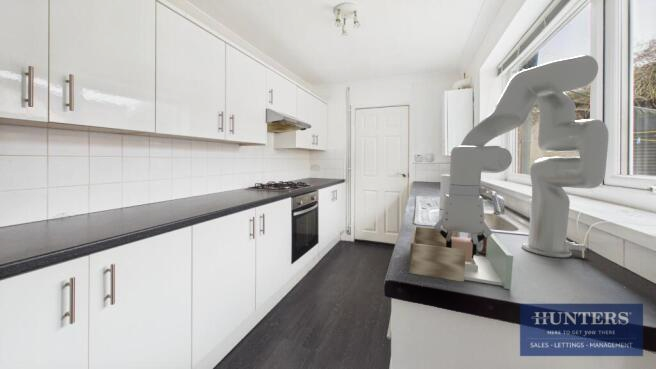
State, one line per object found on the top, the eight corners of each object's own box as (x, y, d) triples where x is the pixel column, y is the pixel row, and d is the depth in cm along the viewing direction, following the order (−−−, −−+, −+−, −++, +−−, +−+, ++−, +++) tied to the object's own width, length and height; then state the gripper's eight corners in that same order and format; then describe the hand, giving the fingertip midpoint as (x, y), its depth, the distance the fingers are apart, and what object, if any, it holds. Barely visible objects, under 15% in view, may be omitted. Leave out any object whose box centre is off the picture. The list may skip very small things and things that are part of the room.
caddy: (456, 255, 81) (457, 230, 80) (463, 281, 63) (465, 250, 62) (413, 249, 86) (414, 226, 85) (409, 272, 68) (410, 243, 67)
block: (468, 255, 73) (470, 238, 72) (471, 261, 68) (472, 243, 68) (449, 252, 75) (450, 236, 74) (451, 258, 70) (452, 241, 70)
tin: (492, 258, 79) (494, 231, 78) (481, 257, 80) (483, 231, 79) (474, 243, 94) (476, 220, 93) (465, 242, 94) (466, 220, 94)
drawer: (490, 258, 78) (492, 232, 77) (510, 289, 59) (513, 255, 58) (442, 252, 83) (443, 227, 82) (446, 279, 64) (448, 248, 63)
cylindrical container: (434, 240, 96) (437, 174, 94) (453, 240, 96) (457, 174, 94) (442, 246, 89) (446, 175, 87) (463, 246, 89) (467, 175, 87)
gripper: (496, 191, 70) (492, 255, 72) (430, 188, 77) (428, 247, 78) (504, 194, 63) (499, 264, 65) (431, 190, 70) (428, 255, 71)
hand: (460, 254), depth 72 cm, fingers closed on block, 4 cm apart
